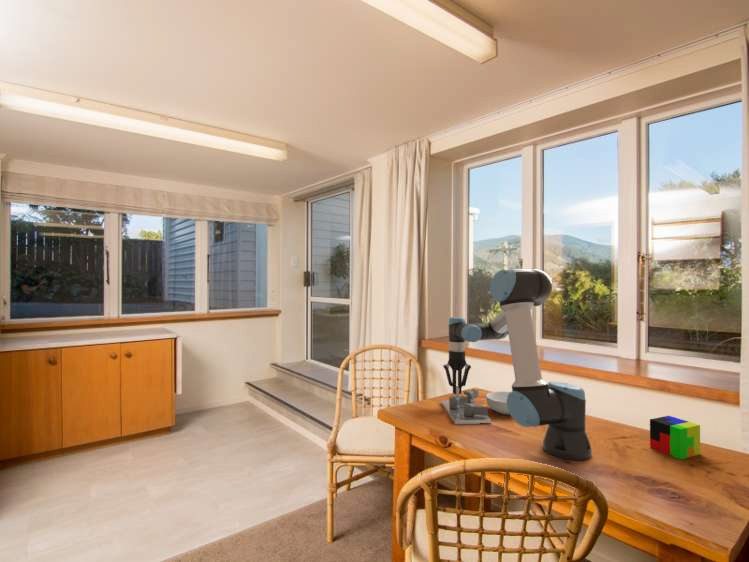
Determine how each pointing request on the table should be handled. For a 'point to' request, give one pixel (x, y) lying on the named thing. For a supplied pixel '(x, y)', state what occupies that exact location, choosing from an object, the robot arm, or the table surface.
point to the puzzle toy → (675, 436)
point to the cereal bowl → (498, 401)
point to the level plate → (459, 415)
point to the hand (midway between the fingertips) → (457, 400)
